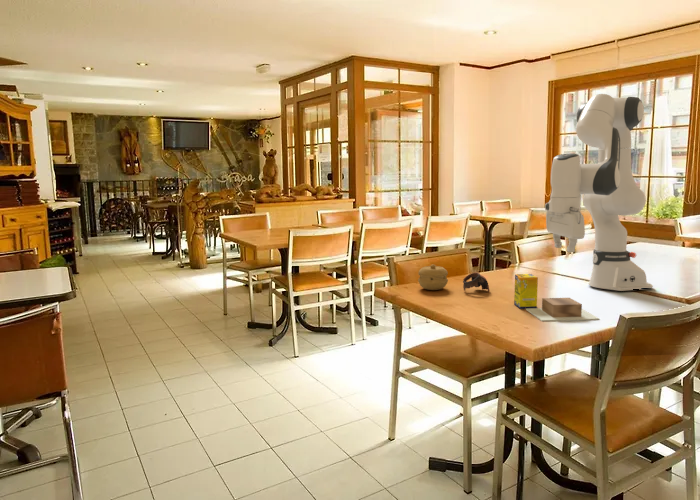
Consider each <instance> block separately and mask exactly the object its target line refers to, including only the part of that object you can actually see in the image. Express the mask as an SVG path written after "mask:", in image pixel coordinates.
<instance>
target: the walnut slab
mask: <svg viewBox="0 0 700 500" xmlns="http://www.w3.org/2000/svg"><path fill="white" fill-rule="evenodd" d="M582 307H583V305H582V303H580V302H578V301H577V300H575V299H573V298H571V297H545V298H542V300H541V308H542V310H543V311H544V312H546V313H547V314H549V315H550V316H552V317H581V313H582V309H583V308H582Z"/></svg>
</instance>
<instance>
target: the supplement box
mask: <svg viewBox="0 0 700 500" xmlns="http://www.w3.org/2000/svg"><path fill="white" fill-rule="evenodd" d="M538 278H539V277H538V276H535V275H533V274H532V273H517V274H514V296H513V297H514V301H513V302H514V303H513V304H514V306H516V307H517V308H518V309H520V310H526V309H527V308H538V282H539V281H538Z"/></svg>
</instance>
